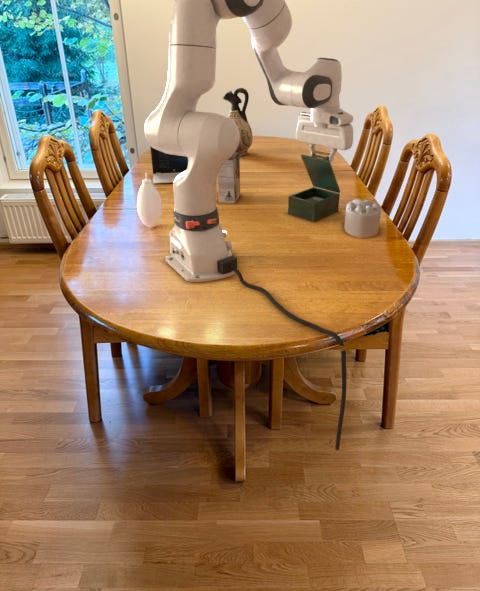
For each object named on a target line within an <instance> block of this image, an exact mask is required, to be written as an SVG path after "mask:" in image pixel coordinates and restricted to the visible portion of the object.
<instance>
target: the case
mask: <svg viewBox="0 0 480 591" xmlns="http://www.w3.org/2000/svg"><path fill="white" fill-rule="evenodd" d="M313 196H315V197H319V198H322V199H323V200H320V201H318V202H315V203H314V202H311V201H307V200H306V199H308V198H311V197H313ZM340 196H341V193H337V192H333V191H329V190H326V189H322V188H318V187H314V186H311V187H309V188H306V189H304V190H301V191H298V192H296V193H293V194H290V195H288V197H287V198H288V202H287V215H291V216H294V217H297V218H300V219H303V220H305V221H309V222H311V223H315V222H317V221H320V220H322V219H324V218H326V217H329V216H331V215H333V214H336V213H338V212H339V209H340V208H339V207H340V206H339V205H340Z"/></svg>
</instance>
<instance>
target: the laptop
mask: <svg viewBox="0 0 480 591" xmlns="http://www.w3.org/2000/svg"><path fill="white" fill-rule="evenodd" d="M149 149H150V150H149V151H150V160H151V168H152V184H153V185H161V184H173V182H174V180H175V178H176V177H177V176H178V175H179V174H180V173H182V172H183V171H185V170H187V167H188V157H186V156H179V155H172V154H166V153H164V152H161V151H158V150H156V149H154V148H152V147H151V146H150V145H149Z"/></svg>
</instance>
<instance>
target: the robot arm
mask: <svg viewBox="0 0 480 591" xmlns="http://www.w3.org/2000/svg"><path fill="white" fill-rule="evenodd" d="M171 8H172V9H171V14H170V21H169V32H168V68H167V69H168V70H167V82H166V87H165V91H164V94H163V96H162V98H161V101H160V102H159V104H158V106H157V107H156V108H155V109H154V110H153V111H152V112H151V113H150V114H149V115H148V116H147V118H146V120H145V123H144V137H145V140H146V142H147V144H148V145H149V147H150V146H151V147H152V148H154V149H156V150H158V151H161V152H164V153H166V154H172V155H179V156H186V157H188V167H187V170H185V171H183V172H182V173H180V174H179V175H178V176H177V177H176V178H175V180H174V182H173V183H172V192H173V203H174V208H173V214H172V215H173V217H172V218H173V223H174V226H173V227H172V229H171V230H170V231H169V248H170V249H169V250H170V254H168V255H166V256H165V259H164V260H165V263H167V265H168V266H170V267H171V268H172V269H173V270H174V271H175V272H176V273H177V274H178V275H179V276H181V278H183V279H184V280H185V281H186V282H189V283H202V282H203V283H204V282H212V281H218V280H222V279H226V278H229V277H232V276H234V275H237V277H238V280H239V282H240V283H241V284H242V285H243V286H245V287H247V288H249V289H253V290H256V291H259V292H261V293H263V295H265V296H266V297H267V298H268V299H269V302H271V303H272V304H273V306H275V307H276V308H277V309H278V310H279V311H280V312H282V313H283V314H284V315H285V316H287V317H288V318H290V319H291V320H293V321H295V322H297V323H299V324H301V325H304V326H306V327H309V328H310V329H313V330H315V331H318V332H320V333H322V334H325V335H328V336H331V337H332V338H333V339H334V340H335V341H336V342H337V343H338V345H339V346H340V347H344V346H345V343H344V340H342V338H341V337H340V335H339V334H337V333H336V332H335V331H333V330H330V329H326V328H324V327H322V326H319V325H317V324H315V323H312V322H310V321H307V320H305V319H303V318H301V317H298V316H296V315H294V314H293V313H291V312H290V311H289V310H287V309H286V308H285V307H283V306H282V305H281V304H280V303H279V302H278V301H276V299H275V298H274V297H273V295H272V294H271V293H270V292H269V291H268V290H267V289H265V288H263V287H262V286H259V285H255V284H251V283H249V282H247V281H246V280H245V279H244V277H243V274H242V273H241V271H240V270H239V269H238V257H236V256H235V255H233V253H232V249H233V248H232V245H233V244H232V241H230V240H228V241H227V240H226V239H225V238H227V234H228V231H227V230H223V225H222V223H220V213H219V208H218V206H217V181H218V172H219V170H220V168H221V166H222V165H223V163H224V162H225V161H226V160H227V159H229V158H230V157H231V156H232V155H233V154H234V153H235V151H236V150H237V148H238V145H239V138H240V137H239V130H238V127H237V125H236V123H235V122H234V120H233V119H231V118H228V117H227V116H225V115H223V114H219V113H217V112H207V111H206V112H205V111H197V105H198V102H199V100H200V98H201V97H202V96H203V95H205V94H206V93H209V92H210V91H211V90H212V89H213V87H214V86H215V83H216V74H217V73H216V72H217V71H216V70H217V41H218V40H217V27H218V24H219V22H220V20H231V19H236V18H242V19H243V22H244V24H245V25H246V27H247V29H248V31H249V33H250V35H251V37H250V38H251V39H250V41H251V46H252V50H253V53H254V54H255V57H256V59H257V61H258V63H259V66H260V68H261V70H262V72H263V74H264V77H265V79H266V82H267V86H268V91H269V96H270V98H271V100H272V101H273V102H274V104H276V105H278V106H287V107H296V108H302V109H310V112H306V111H301V112H300V113H299V114H298V116H297V126H296V131H295V139H296V141H297V142H300V143H304V144H307V146H308V147H307V148H308V150H309V152H310V156H311V157H314V156H315V152H316V151H317V150H316V148H315V147H316V146H318V147H319V146H322V147H325V148H329V151H330V155H327V160H329V161H330V163H331V162H334V159H335V158H334V156H335V155H336V154H337V151H338V150H340V151H348V150H350V149H351V148H352V147H353V144H354V127H353V125H352V124H351V123H353V121H354V116H353V115H352V114H350V113H348V112H347V111H345V110H344V109H342V108H341V107H340V106H341V103H340V94H341V91H342V80H343V78H342V77H343V76H342V74H343V73H342V64H341V61H339V60H338V59H336V58H329V57H317V58H316V59H315V61H314V63H313V65H312V66H311V67H310V68H309V69H307V70H305V71H295V70H292V69H289V68H287V67H286V66H285V65H284V64H283V60H282V58H281V55H280V53H279V51H278V47H280V46H281V45H282V44H283V43H284V42H285V41H286V40H287V38H288V36H289V35H290V33H291V30H292V26H293V17H292V14H291V11H290V8H289V6H288V4H287V2H286V1H285V0H174V1H173V4H172V7H171ZM340 355H341V356H340V357H341V364H340V365H341V397H340V398H341V399H340V406H339V407H340V408H339V415H338V423H337V430H336V437H335V446H334V447H335V448H334V449H335V450H336V451H340V446H341V438H342V430H343V429H342V428H343V422H344V417H345V408H346V401H347V350H345V349H344V350H341V351H340Z"/></svg>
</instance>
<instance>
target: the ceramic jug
mask: <svg viewBox="0 0 480 591" xmlns="http://www.w3.org/2000/svg"><path fill="white" fill-rule="evenodd" d="M238 94H243V95H244V102H243V106H242V108H240V104H242V99H241V97H239V95H238ZM249 97H250V95H249V92H248V90H247V89H246V88H244V87H239V88H236V89H235V90H234V92H233V91H232V90H229V91H227V92H226V93H225V94H224V95H223V96H222V98H221V99H222V100H224V101H227V102H228V103H230V105H231V106H230V107H231V108H230V111H229V112H228V114H227V116H226V117H228V118H231V119H233V120H234V122H235V123H236V125H237V127H238V130H239V137H240V138H239V145H238V148H237V150H236V151H235V152H237V153H240V154H239V155H240V157H241V156H246V155H247V154H248V150H249V149H250V148H251V146H252V143H253V140H254V139H253V138H254V137H253V136H254V135H253V130H252V127H251V125H250V122H249V121H248V117H247V114H246V111H247V107H248V104H249V99H250V98H249Z"/></svg>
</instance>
